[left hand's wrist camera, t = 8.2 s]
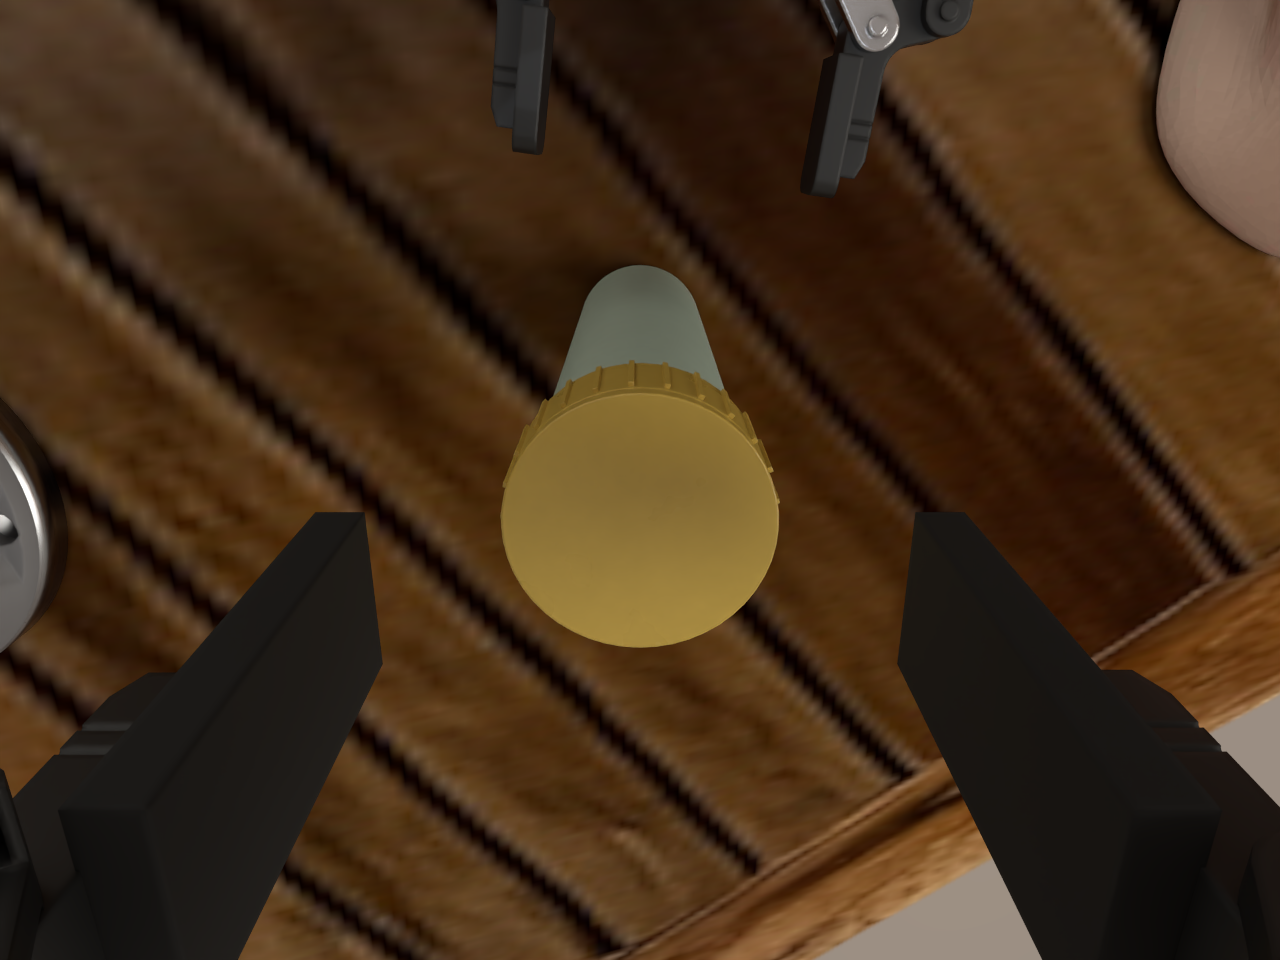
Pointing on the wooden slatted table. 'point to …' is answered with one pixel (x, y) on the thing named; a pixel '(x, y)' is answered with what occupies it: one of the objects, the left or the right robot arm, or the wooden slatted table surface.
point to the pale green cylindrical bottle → (640, 326)
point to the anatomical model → (1226, 113)
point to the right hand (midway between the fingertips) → (674, 174)
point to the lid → (639, 506)
